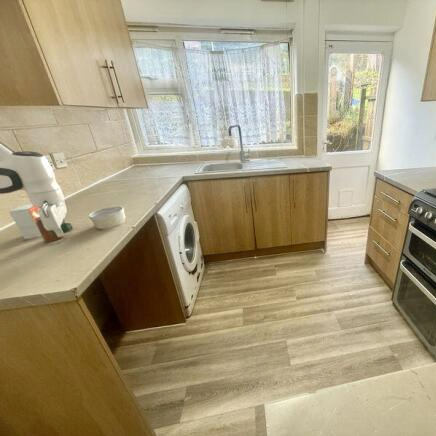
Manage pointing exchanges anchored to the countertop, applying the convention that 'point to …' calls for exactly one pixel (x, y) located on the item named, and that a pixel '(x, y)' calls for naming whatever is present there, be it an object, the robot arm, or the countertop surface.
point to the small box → (26, 220)
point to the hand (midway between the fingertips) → (62, 232)
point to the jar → (46, 232)
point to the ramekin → (108, 217)
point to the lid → (63, 228)
